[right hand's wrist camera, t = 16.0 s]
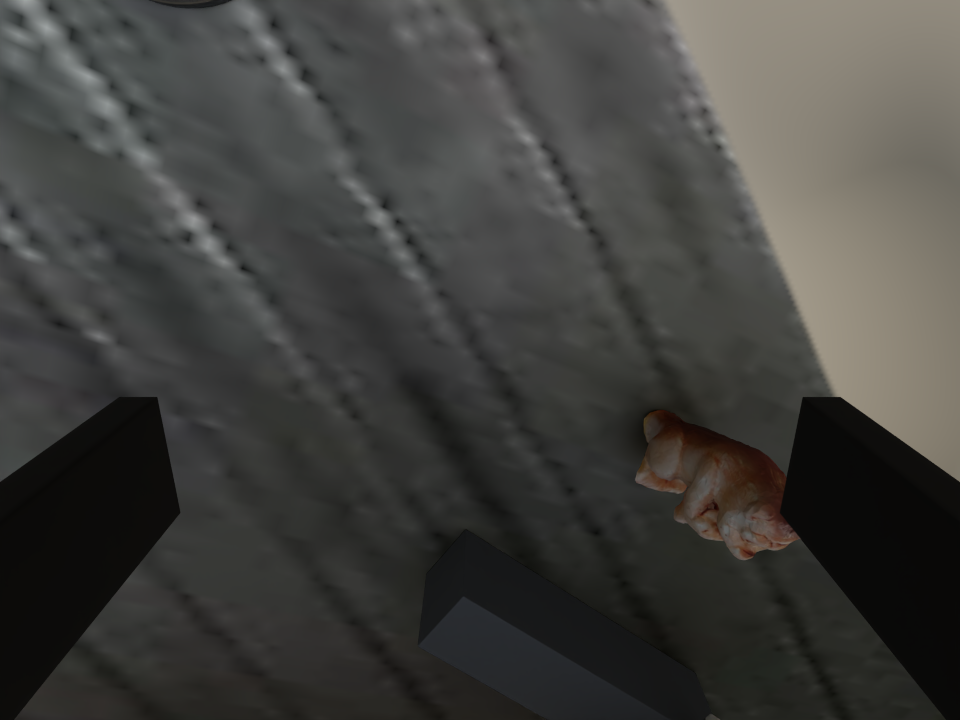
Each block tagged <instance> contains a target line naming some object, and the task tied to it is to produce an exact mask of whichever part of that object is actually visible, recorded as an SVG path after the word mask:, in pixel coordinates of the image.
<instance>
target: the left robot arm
mask: <svg viewBox="0 0 960 720" xmlns="http://www.w3.org/2000/svg"><path fill="white" fill-rule="evenodd" d="M703 720H720V719H718V718H717V717H715V716H714V715H712V714H709V715H708V716H707V717H706V718H705V719H703Z"/></svg>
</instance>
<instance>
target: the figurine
mask: <svg viewBox="0 0 960 720" xmlns="http://www.w3.org/2000/svg"><path fill="white" fill-rule="evenodd" d="M644 434H645V436H646V440H647V442H648V443H649V444H648V447H647V450H646V453H645V456H644V459H643V461H642V464H641V466H640V468H639V470H638V472H637V476H636V479H635V480H636V483H639V484H642V485H644V486H645V487H647V488H652V489H655V490H658V491H667V492H674V493H676V494H679V493H682V492H684V491H685V489H686V487H687V486H688V489H687V490H686V491H685V493H684V500H683V501H682V502H681V504H680V505H678V506H677V507H676V508H675V511H674V519H675V520H676V521H678V522H681V523H688V524H689V525H690V526H691V527H692V528H693V529H694V530H695V531H696V532H697V533H698V534H699V535H700V536H701V537H703V538H705V539H710V540H718V541H723V540H724V541H725V543H726V545H727V547H728V548H729V550H730V551H731V553H732V554H733V555H734V556H735V557H737V558H738V559H741V560H747V559H750V558H752V557H753V556H754V555H755V553H756V552H758V551H761V550H764V549H770V550H779V549H783V548H785V547H786V546H787V545H788V544H789V543H791V542H793V541H795V540H797V539H800V537H799V536H798V535H797V534H796V532H795V531H794V530H793V529H792V527H791V526H790V525H789V524H788V522H787V521H786V520H785V519H784V518H783V516H782V515H781V514H780V508H781V503H782V498H783V493H784V488H785V483H786V476H785V474H784V473H783V472H782V471H781V470H780V469H779V468H778V466H777V465H776V464H775V463H774V462H773V461H772V460H771V459H770V458H769V457H768V456H767V455H765V454H764V453H763V452H761V451H760V450H758V449H755V448H752V447H750V446H749V445H745V444H743V443H741V442H739V441H735V440H733V439H730V438H728V437H726V436H724V435H721V434H718V433H716V432H714V431H711V430H709V429H707V428H704V427H701V426H697V425H695V424H689V423H686V422H684V421H683V420H682V419H681V418H680V417H678V416H676V415H675V414H674V413H670V412H668V411H664V410H658V411H654V412H651V413H649V414H648V415H647V416H646V417H645V418H644Z"/></svg>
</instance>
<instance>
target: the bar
mask: <svg viewBox="0 0 960 720" xmlns="http://www.w3.org/2000/svg"><path fill="white" fill-rule="evenodd" d="M418 647H420V648H421V649H423V650H425V651H427V652H428V653H430V654H432V655H434V656H436V657H437V658H439V659H441V660H443V661H444V662H446V663H448V664H450V665H451V666H453V667H455V668H457V669H459V670H460V671H462V672H464V673H466V674H467V675H469V676H471V677H473V678H475V679H476V680H478V681H480V682H482V683H483V684H485V685H487V686H489V687H490V688H492V689H494V690H496V691H498V692H499V693H501V694H503V695H505V696H506V697H508V698H510V699H512V700H513V701H515V702H517V703H519V704H521V705H522V706H524V707H526V708H528V709H529V710H531V711H533V712H535V713H536V714H538V715H540V716H542V717H544V718H545V719H547V720H703V719H705V718H706V717H707V716H708V715H709V714H712V712H711V710H710V708H709V705H708V703H707V700H706V698H705V695H704V693H703V690H702V688H701V685H700V683H699V680H698V678H697V675H696V673H694V672H693V671H691V670H690V669H688V668H686V667H685V666H683V665H682V664H680V663H678V662H677V661H675V660H674V659H672V658H671V657H669V656H667V655H666V654H664V653H663V652H661V651H659V650H658V649H656V648H655V647H653V646H651V645H650V644H648V643H647V642H645V641H643V640H642V639H640V638H639V637H637V636H635V635H634V634H632V633H631V632H629V631H627V630H626V629H624V628H623V627H621V626H619V625H618V624H616V623H615V622H613V621H611V620H610V619H608V618H607V617H605V616H603V615H602V614H600V613H599V612H597V611H595V610H594V609H592V608H591V607H589V606H587V605H586V604H584V603H583V602H581V601H579V600H578V599H576V598H575V597H573V596H572V595H570V594H568V593H567V592H565V591H564V590H562V589H560V588H559V587H557V586H556V585H554V584H552V583H551V582H549V581H548V580H546V579H544V578H543V577H541V576H540V575H538V574H536V573H535V572H533V571H532V570H530V569H528V568H527V567H525V566H524V565H522V564H520V563H519V562H517V561H516V560H514V559H512V558H511V557H509V556H508V555H506V554H504V553H503V552H501V551H500V550H498V549H496V548H495V547H493V546H492V545H490V544H488V543H487V542H485V541H484V540H482V539H480V538H479V537H477V536H476V535H474V534H473V533H471V532H469V531H468V530H465V531H464V532H463V533H462V534H461V535H460V536H459V538H458V539H457V540H456V541H455V542H454V543H453V544H452V545H451V547H450V548H449V549H448V550H447V551H446V552H445V553H444V555H443V556H442V557H441V558H440V559H439V560H438V561H437V563H436V564H435V565H434V566H433V567H432V568H431V569H430V571H429V572H428V573H427V574H426V582H425V590H424V598H423V607H422V615H421V623H420V631H419V639H418Z"/></svg>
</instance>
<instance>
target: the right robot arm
mask: <svg viewBox="0 0 960 720" xmlns="http://www.w3.org/2000/svg"><path fill="white" fill-rule="evenodd" d="M150 1H153V2H156V3H159V4H162V5H167V6H172V7H180V8H204V7H211V6H216V5H220V4H223V3H226V2H229V1H231V0H150ZM179 514H180V508H179V503H178V498H177V493H176V488H175V483H174V478H173V473H172V468H171V463H170V458H169V453H168V449H167V444H166V439H165V434H164V429H163V424H162V419H161V414H160V409H159V404H158V399H157V397H119V398H118V399H116V400H115V401H113V402H112V403H111V404H109V405H108V406H106V407H105V408H104V409H102V410H101V411H99V412H98V413H96V414H95V415H94V416H92V417H91V418H89V419H88V420H87V421H85V422H84V423H82V424H81V425H80V426H78V427H77V428H75V429H74V430H73V431H71V432H70V433H68V434H67V435H66V436H64V437H63V438H61V439H60V440H59V441H57V442H56V443H54V444H53V445H52V446H50V447H49V448H47V449H46V450H45V451H43V452H42V453H40V454H39V455H38V456H36V457H35V458H33V459H32V460H30V461H29V462H28V463H26V464H25V465H23V466H22V467H21V468H19V469H18V470H16V471H15V472H14V473H12V474H11V475H9V476H8V477H7V478H5V479H4V480H2V481H1V482H0V720H14V719H15V718H16V716H17V715H18V714H19V713H20V711H21V710H22V709H23V708H24V706H25V705H26V704H27V703H28V701H29V700H30V699H31V698H32V696H33V695H34V694H35V693H36V691H37V690H38V689H39V688H40V686H41V685H42V684H43V683H44V682H45V680H46V679H47V678H48V677H49V675H50V674H51V673H52V672H53V670H54V669H55V668H56V667H57V665H58V664H59V663H60V662H61V660H62V659H63V658H64V657H65V655H66V654H67V653H68V652H69V650H70V649H71V648H72V647H73V645H74V644H75V643H76V642H77V641H78V639H79V638H80V637H81V636H82V634H83V633H84V632H85V631H86V629H87V628H88V627H89V626H90V624H91V623H92V622H93V621H94V619H95V618H96V617H97V616H98V614H99V613H100V612H101V611H102V609H103V608H104V607H105V606H106V604H107V603H108V602H109V601H110V600H111V598H112V597H113V596H114V595H115V593H116V592H117V591H118V590H119V588H120V587H121V586H122V585H123V583H124V582H125V581H126V580H127V578H128V577H129V576H130V575H131V573H132V572H133V571H134V570H135V568H136V567H137V566H138V565H139V563H140V562H141V561H142V560H143V559H144V557H145V556H146V555H147V554H148V552H149V551H150V550H151V549H152V547H153V546H154V545H155V544H156V542H157V541H158V540H159V539H160V537H161V536H162V535H163V534H164V532H165V531H166V530H167V529H168V527H169V526H170V525H171V524H172V522H173V521H174V520H175V519H176V518H177V516H178V515H179ZM780 514H781V515H782V516H783V518H784V519H785V520H786V521H787V522H788V524H789V525H790V526H791V527H792V529H793V530H794V531H795V532H796V534H797V535H798V536H799V537H800V539H801V540H802V541H803V542H804V544H805V545H806V546H807V547H808V549H809V550H810V551H811V552H812V554H813V555H814V556H815V557H816V559H817V560H818V561H819V562H820V563H821V565H822V566H823V567H824V568H825V570H826V571H827V572H828V573H829V575H830V576H831V577H832V578H833V580H834V581H835V582H836V583H837V585H838V586H839V587H840V588H841V590H842V591H843V592H844V593H845V595H846V596H847V597H848V598H849V600H850V601H851V602H852V603H853V604H854V606H855V607H856V608H857V609H858V611H859V612H860V613H861V614H862V616H863V617H864V618H865V619H866V621H867V622H868V623H869V624H870V626H871V627H872V628H873V629H874V631H875V632H876V633H877V634H878V636H879V637H880V638H881V639H882V641H883V642H884V643H885V644H886V645H887V647H888V648H889V649H890V650H891V652H892V653H893V654H894V655H895V657H896V658H897V659H898V660H899V662H900V663H901V664H902V665H903V667H904V668H905V669H906V670H907V672H908V673H909V674H910V675H911V677H912V678H913V679H914V680H915V682H916V683H917V684H918V685H919V686H920V688H921V689H922V690H923V691H924V693H925V694H926V695H927V696H928V698H929V699H930V700H931V701H932V703H933V704H934V705H935V706H936V708H937V709H938V710H939V711H940V713H941V714H942V715H943V716H944V718H945V719H946V720H960V482H959V481H958V480H956V479H955V478H953V477H952V476H951V475H949V474H948V473H946V472H945V471H944V470H942V469H941V468H939V467H938V466H937V465H935V464H934V463H932V462H931V461H929V460H928V459H927V458H925V457H924V456H922V455H921V454H920V453H918V452H917V451H915V450H914V449H913V448H911V447H910V446H908V445H907V444H906V443H904V442H903V441H901V440H900V439H899V438H897V437H896V436H894V435H893V434H892V433H890V432H889V431H887V430H886V429H885V428H883V427H882V426H880V425H879V424H878V423H876V422H875V421H873V420H872V419H871V418H869V417H868V416H866V415H865V414H864V413H862V412H861V411H859V410H858V409H856V408H855V407H854V406H852V405H851V404H849V403H848V402H847V401H845V400H844V399H842V398H841V397H803V399H802V404H801V409H800V414H799V419H798V424H797V429H796V434H795V439H794V444H793V448H792V453H791V458H790V463H789V468H788V473H787V478H786V483H785V488H784V493H783V498H782V503H781V508H780Z"/></svg>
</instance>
